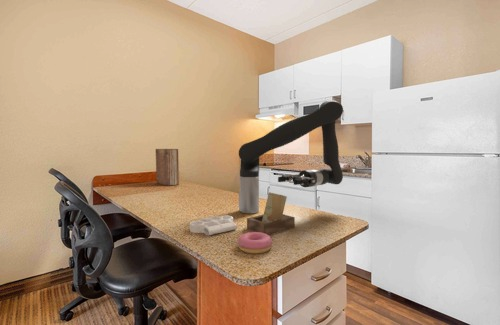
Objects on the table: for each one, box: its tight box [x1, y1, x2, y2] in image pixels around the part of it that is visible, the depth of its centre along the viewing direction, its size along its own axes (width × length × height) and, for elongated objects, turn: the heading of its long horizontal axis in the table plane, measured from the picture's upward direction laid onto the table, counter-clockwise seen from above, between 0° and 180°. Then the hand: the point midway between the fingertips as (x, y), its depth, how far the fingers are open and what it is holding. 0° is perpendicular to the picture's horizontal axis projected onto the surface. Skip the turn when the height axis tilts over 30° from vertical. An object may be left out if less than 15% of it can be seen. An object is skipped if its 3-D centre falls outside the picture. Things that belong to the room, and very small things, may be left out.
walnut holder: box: [246, 213, 296, 236], centre depth 99 cm, size 11×15×4 cm
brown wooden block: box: [155, 148, 180, 187], centre depth 218 cm, size 25×9×30 cm, turn 41°
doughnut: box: [237, 231, 273, 255], centre depth 80 cm, size 11×11×4 cm
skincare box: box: [262, 192, 288, 223], centre depth 99 cm, size 6×4×12 cm
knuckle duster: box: [189, 214, 238, 237], centre depth 99 cm, size 3×18×15 cm
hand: (286, 180), depth 104 cm, fingers open, 8 cm apart
